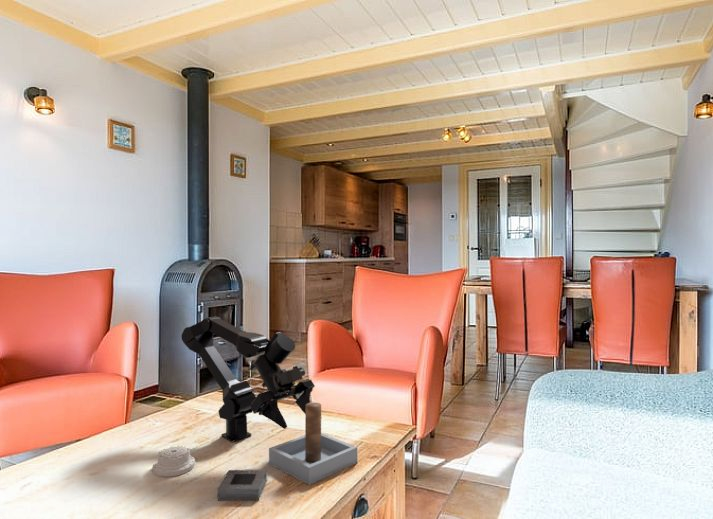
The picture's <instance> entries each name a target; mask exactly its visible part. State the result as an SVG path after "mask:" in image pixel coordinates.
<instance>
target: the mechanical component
mask: <svg viewBox="0 0 713 519" xmlns="http://www.w3.org/2000/svg"><path fill="white" fill-rule="evenodd" d="M190 452H191V451H190V448H187V447H186V446H183V445H177V446H169V447H167V448H164V449H162V450H160V451H158V455H157V460H156V461H155V462H154V463H152V474H153V475H155V476H158V477H163V478H165V477H169V478H170V477H175V476H176V477H177V476H180V475H183V474H186V473H188V472H190V471H191V470H193V469H194V468H195V466H196V459H195V457H193V456H192V455H190Z"/></svg>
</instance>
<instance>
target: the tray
mask: <svg viewBox="0 0 713 519" xmlns="http://www.w3.org/2000/svg"><path fill="white" fill-rule="evenodd" d="M268 464H269V465H271V466H272V467H275V468H276V469H278V470H280V471H282V472H284V473H286V474H287V475H289V476H291V477H293V478H295V479H297V480H299V481H301V482H303V483H305V484H307V485H309V486H310V485H313V484H315V483H316V482H319V481H321V480H323V479H325V478H327V477H329V476H332V475H334V474H337V473H339V472H340V471H342V470H346V469H347V468H349V467H352V466H354V465H356V464H358V447H357V446H355V445H352V444H350V443H349V442H348V443H347V442H345V441H344V440H343V441H342V440H340V439H338V438H335V437H332V436H329V435H328V434H325V433H322V432H321V460H320V461H317V462H315V463H310V462H307V461H306V460H305V434H304V435H301V436H299V437H296V438H293V439H291V440H288V441H285V442H282V443H279V444H277V445H274V446H272V447H269V448H268Z"/></svg>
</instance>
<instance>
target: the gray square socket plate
mask: <svg viewBox="0 0 713 519" xmlns="http://www.w3.org/2000/svg"><path fill="white" fill-rule="evenodd" d="M267 478H268V470H267V469H248V470H247V469H230V470H229V469H228V471H227V472H226V474H225V475H224V477H223V480H222V481H221V482H220V484H219V486H218V487H217V501H259V500H260V498H261V496H262V494H263V491H264V489H265V486H266V484H267V481H268V479H267Z"/></svg>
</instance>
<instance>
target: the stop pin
mask: <svg viewBox="0 0 713 519" xmlns="http://www.w3.org/2000/svg"><path fill="white" fill-rule="evenodd" d="M304 425H305V427H304V428H305V433H304V435H305V460H306V461H307V462H310V463H315V462H317V461H320V460H321V433H322V404H321V403H320V402H313V401H312V402H310V403H308V404H306V414H305V423H304Z"/></svg>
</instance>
